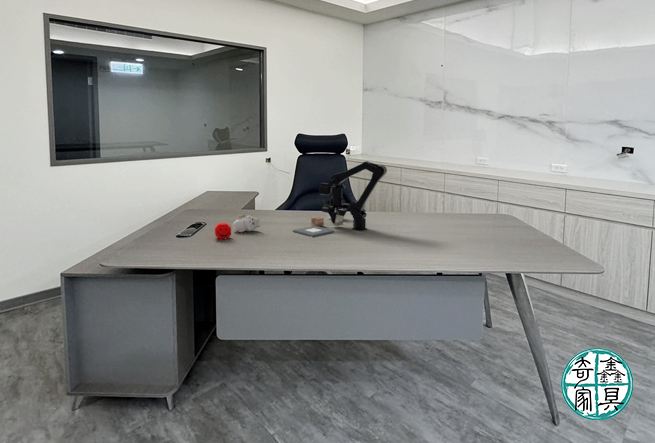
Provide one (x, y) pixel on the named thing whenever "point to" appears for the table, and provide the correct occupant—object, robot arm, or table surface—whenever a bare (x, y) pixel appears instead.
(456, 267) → the table surface
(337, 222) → the off-white block
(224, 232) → the ball
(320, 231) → the blue-grey square plate
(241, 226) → the cat figurine
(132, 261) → the table surface
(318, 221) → the terracotta block
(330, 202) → the robot arm
